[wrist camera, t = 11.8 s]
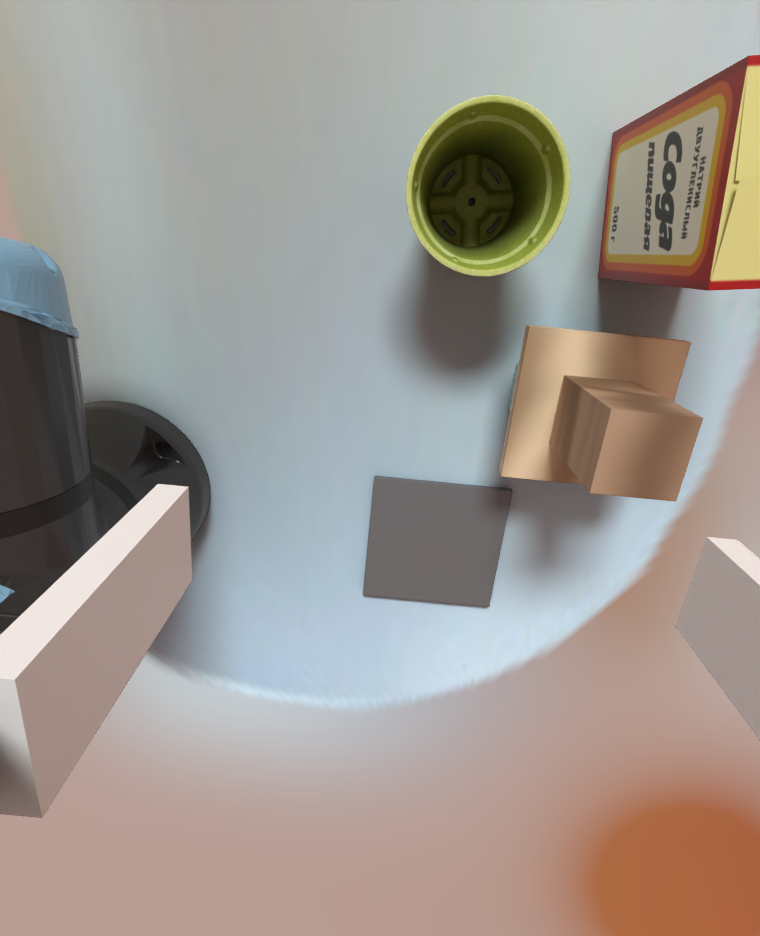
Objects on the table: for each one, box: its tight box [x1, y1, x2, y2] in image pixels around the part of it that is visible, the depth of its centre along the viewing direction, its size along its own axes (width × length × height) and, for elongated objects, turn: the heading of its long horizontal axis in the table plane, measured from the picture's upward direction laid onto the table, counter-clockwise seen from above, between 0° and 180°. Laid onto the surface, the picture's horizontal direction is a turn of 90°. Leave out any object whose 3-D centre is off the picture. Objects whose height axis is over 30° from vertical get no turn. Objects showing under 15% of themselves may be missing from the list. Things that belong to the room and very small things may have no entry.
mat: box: [363, 476, 512, 607], centre depth 49 cm, size 12×12×1 cm
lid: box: [499, 325, 703, 501], centre depth 35 cm, size 11×11×10 cm
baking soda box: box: [598, 55, 760, 290], centre depth 32 cm, size 10×6×16 cm
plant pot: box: [406, 95, 570, 276], centre depth 35 cm, size 9×9×9 cm
